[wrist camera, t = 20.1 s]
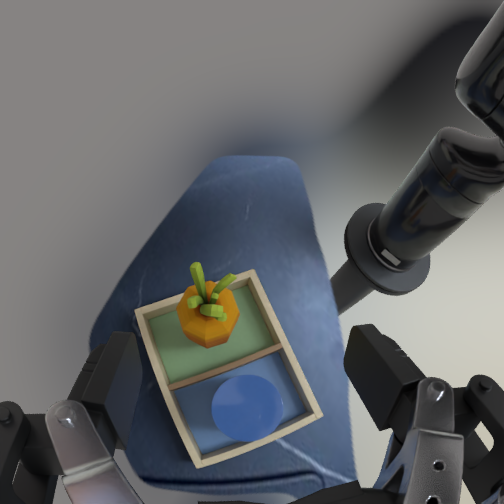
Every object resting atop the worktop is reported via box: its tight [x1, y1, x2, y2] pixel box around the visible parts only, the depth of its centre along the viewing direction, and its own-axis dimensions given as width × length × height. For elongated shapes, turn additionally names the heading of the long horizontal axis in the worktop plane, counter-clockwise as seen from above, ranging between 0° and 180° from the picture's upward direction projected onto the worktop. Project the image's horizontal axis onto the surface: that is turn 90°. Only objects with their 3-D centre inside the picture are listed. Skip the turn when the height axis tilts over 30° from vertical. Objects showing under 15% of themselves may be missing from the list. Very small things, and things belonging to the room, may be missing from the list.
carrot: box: [176, 262, 240, 349], centre depth 24 cm, size 5×5×15 cm
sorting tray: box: [134, 269, 323, 469], centre depth 28 cm, size 14×18×3 cm
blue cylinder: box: [211, 375, 283, 442], centre depth 24 cm, size 6×6×7 cm
